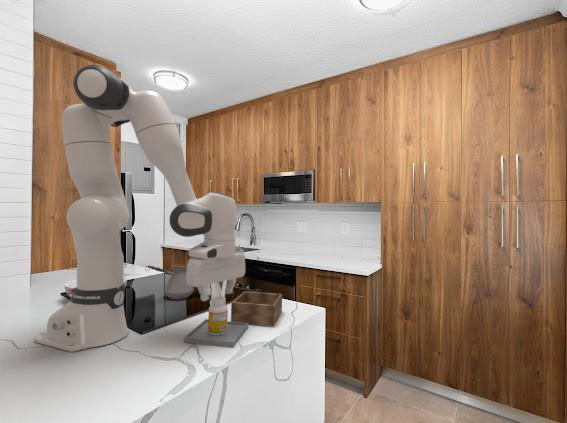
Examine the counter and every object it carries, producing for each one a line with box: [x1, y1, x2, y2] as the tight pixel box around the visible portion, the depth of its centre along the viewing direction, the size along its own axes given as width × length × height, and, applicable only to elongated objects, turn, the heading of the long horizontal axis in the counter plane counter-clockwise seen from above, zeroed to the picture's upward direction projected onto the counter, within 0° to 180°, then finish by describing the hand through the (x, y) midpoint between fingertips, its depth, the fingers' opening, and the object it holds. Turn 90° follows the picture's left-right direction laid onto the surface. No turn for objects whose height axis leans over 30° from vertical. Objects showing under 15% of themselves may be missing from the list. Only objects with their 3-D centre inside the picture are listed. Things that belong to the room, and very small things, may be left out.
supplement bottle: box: [207, 296, 229, 335], centre depth 88 cm, size 5×5×10 cm
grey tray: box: [183, 318, 249, 349], centre depth 88 cm, size 14×14×1 cm
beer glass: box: [209, 280, 228, 306], centre depth 117 cm, size 7×7×15 cm
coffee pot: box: [144, 263, 195, 301], centre depth 120 cm, size 21×12×15 cm, turn 151°
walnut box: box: [230, 290, 283, 328], centre depth 103 cm, size 14×14×6 cm
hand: (217, 296), depth 88 cm, fingers open, 8 cm apart
